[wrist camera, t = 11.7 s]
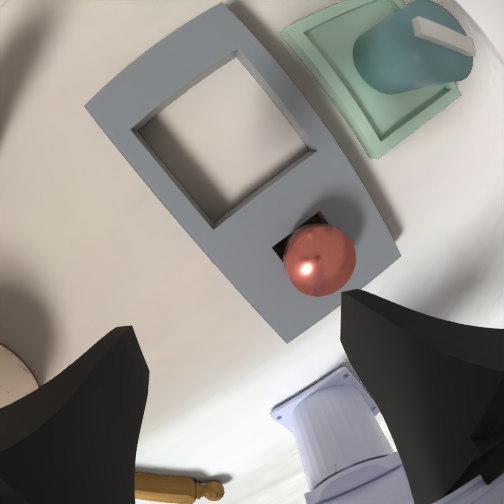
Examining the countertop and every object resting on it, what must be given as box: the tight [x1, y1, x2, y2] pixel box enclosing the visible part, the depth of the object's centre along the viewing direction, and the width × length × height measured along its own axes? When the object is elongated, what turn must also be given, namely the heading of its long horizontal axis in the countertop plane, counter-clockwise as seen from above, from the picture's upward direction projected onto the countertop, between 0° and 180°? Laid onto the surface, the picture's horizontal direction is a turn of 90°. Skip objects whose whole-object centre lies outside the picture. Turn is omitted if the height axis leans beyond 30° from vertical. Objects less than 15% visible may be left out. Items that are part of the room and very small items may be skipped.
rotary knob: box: [353, 0, 476, 95], centre depth 12 cm, size 5×5×7 cm
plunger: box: [283, 223, 356, 297], centre depth 18 cm, size 4×4×3 cm
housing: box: [84, 2, 401, 343], centre depth 17 cm, size 20×10×2 cm, turn 37°
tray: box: [281, 0, 461, 159], centre depth 16 cm, size 10×10×1 cm
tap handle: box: [135, 472, 224, 504], centre depth 25 cm, size 3×3×30 cm
